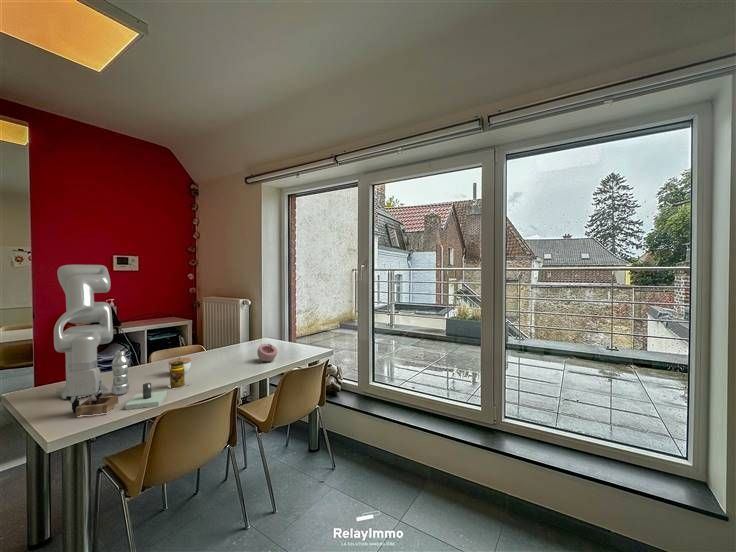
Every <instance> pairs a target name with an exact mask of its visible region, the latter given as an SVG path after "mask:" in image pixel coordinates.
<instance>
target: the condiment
mask: <svg viewBox="0 0 736 552" xmlns="http://www.w3.org/2000/svg"><path fill="white" fill-rule="evenodd" d="M183 366H184V365H183V362H182V361H177V362H173V363H171V369H170V370H169V377H170V378H169V380H170V381H169V385H171V388H176V389H172V390H174V391H175V390H178V389H181V388H184V387H186V386H189V383H188V384H187V383H185V375H184V367H183ZM166 386H167V387H166V388H168V385H166Z"/></svg>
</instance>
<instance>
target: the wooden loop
mask: <svg viewBox="0 0 736 552" xmlns="http://www.w3.org/2000/svg"><path fill="white" fill-rule="evenodd" d="M91 401H93V399H92V397H89V398H87V399H86V400H85V401H83V402H82V403H81V404H79V406H78V407H76V412H75V417H76V416H80V415H93V414H101V413H107V412H108V411H110V410H111V409H112V408H113V407H114V406H115V405H116V404H118V405H119V395H114V394H113V395H106V396H101V397H100V398H98V404H96V405H91ZM110 412H111V411H110Z"/></svg>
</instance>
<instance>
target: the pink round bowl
mask: <svg viewBox="0 0 736 552" xmlns="http://www.w3.org/2000/svg"><path fill="white" fill-rule="evenodd" d="M277 354H278V349H277V348H276V347H275V346H274V345H273V344H271V343H263V344H260V345H259V347H258V349H257V357H258V359H259V360H261V361H263V362H265V363H267V362H271V361H273V360H275V359H276V357H277Z"/></svg>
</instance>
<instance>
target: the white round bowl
mask: <svg viewBox="0 0 736 552" xmlns="http://www.w3.org/2000/svg"><path fill="white" fill-rule="evenodd" d="M177 361H182V362H183V365H184V366H183V367H184V376H185V375H187V373H188V372H189V371H190V369H191V367H192V366H191V365H192V359H191V358H190V357H182V356H179V357H177V358H173V359H170V360H169V361H168V369H169V371H170V369H171V363H173V362H177Z"/></svg>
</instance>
